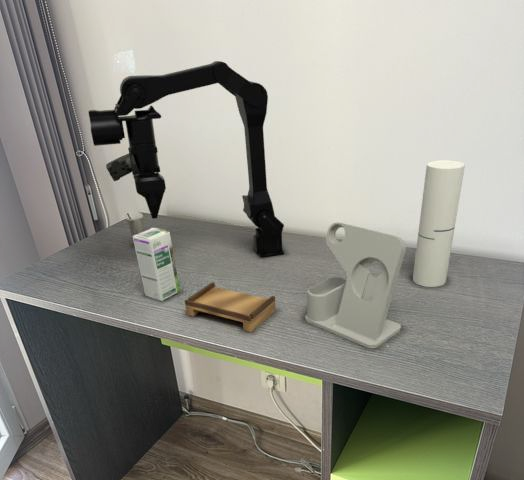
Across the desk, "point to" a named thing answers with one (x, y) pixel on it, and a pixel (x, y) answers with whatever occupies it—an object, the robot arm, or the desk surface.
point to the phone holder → (358, 287)
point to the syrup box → (156, 263)
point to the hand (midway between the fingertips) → (152, 212)
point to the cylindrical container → (437, 221)
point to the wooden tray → (231, 306)
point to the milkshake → (135, 223)
